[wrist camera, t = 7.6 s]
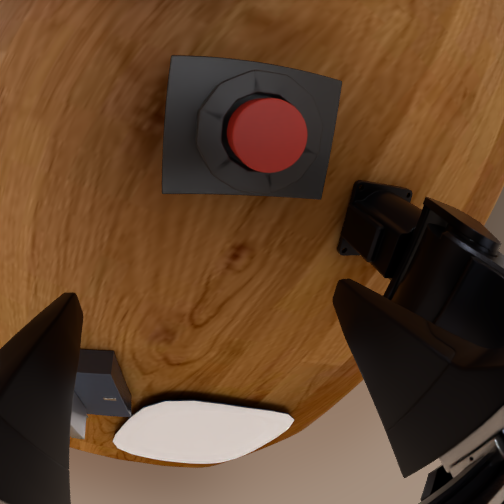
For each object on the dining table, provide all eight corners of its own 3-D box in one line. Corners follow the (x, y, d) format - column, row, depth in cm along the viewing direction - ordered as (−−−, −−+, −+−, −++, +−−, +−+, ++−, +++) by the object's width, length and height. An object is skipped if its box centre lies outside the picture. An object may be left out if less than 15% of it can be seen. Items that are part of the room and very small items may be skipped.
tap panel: (112, 344, 23) (108, 370, 20) (133, 399, 28) (132, 421, 25) (15, 336, 20) (6, 358, 17) (50, 391, 25) (46, 411, 22)
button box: (326, 82, 16) (358, 80, 12) (307, 189, 19) (334, 210, 16) (172, 61, 13) (169, 48, 10) (164, 183, 17) (159, 205, 14)
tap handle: (87, 409, 23) (84, 441, 20) (75, 408, 23) (71, 439, 19) (66, 378, 20) (59, 414, 16) (53, 377, 19) (45, 412, 16)
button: (299, 104, 13) (313, 105, 11) (289, 167, 15) (301, 176, 13) (230, 94, 12) (237, 93, 10) (223, 163, 14) (228, 171, 12)
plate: (155, 377, 26) (155, 390, 25) (309, 406, 38) (312, 415, 37) (103, 440, 34) (103, 449, 32) (223, 459, 45) (224, 465, 44)
